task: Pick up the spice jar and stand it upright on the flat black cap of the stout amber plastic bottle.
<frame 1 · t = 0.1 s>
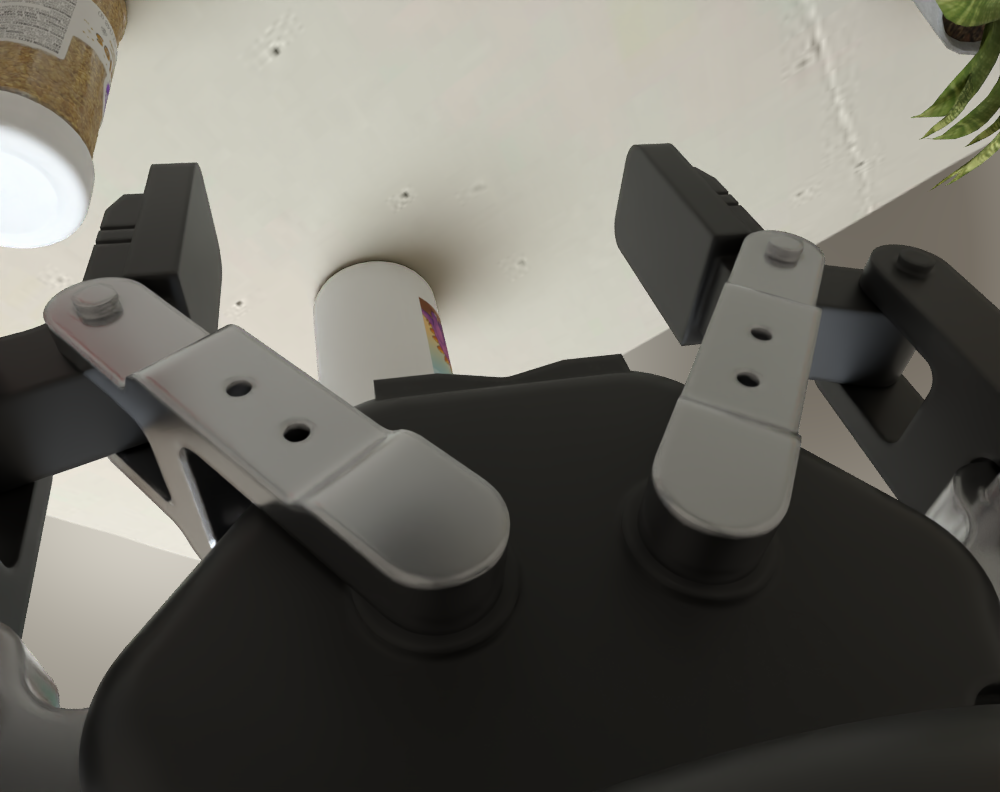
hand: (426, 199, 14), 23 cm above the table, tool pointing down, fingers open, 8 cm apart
milk bottle: (374, 301, 46), on the table
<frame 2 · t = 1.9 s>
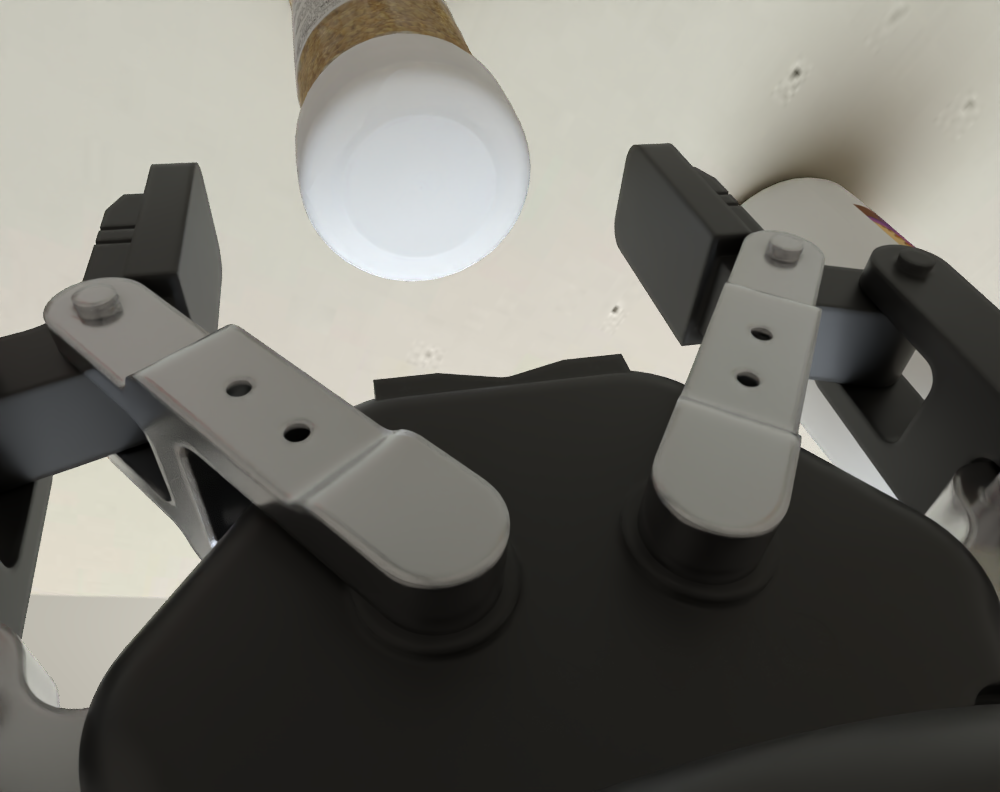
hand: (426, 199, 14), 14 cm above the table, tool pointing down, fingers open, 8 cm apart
milk bottle: (772, 244, 35), on the table
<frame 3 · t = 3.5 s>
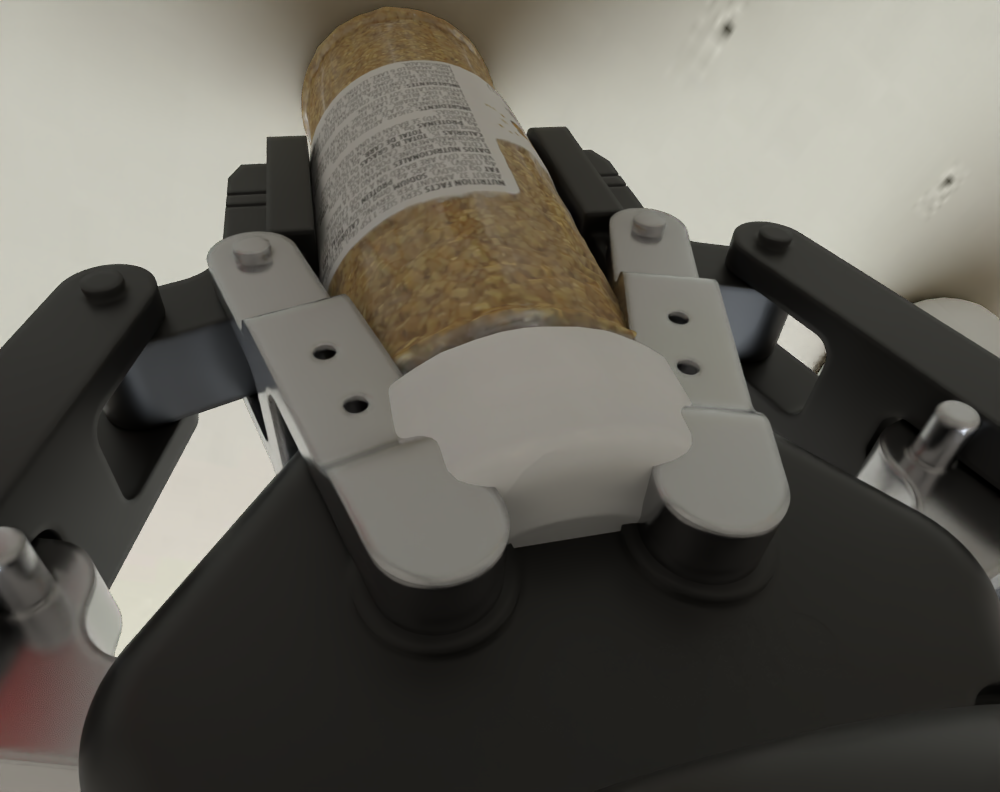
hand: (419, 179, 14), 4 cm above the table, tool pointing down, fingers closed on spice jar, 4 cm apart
milk bottle: (887, 368, 28), on the table
spice jar: (395, 101, 17), on the table, touching gripper
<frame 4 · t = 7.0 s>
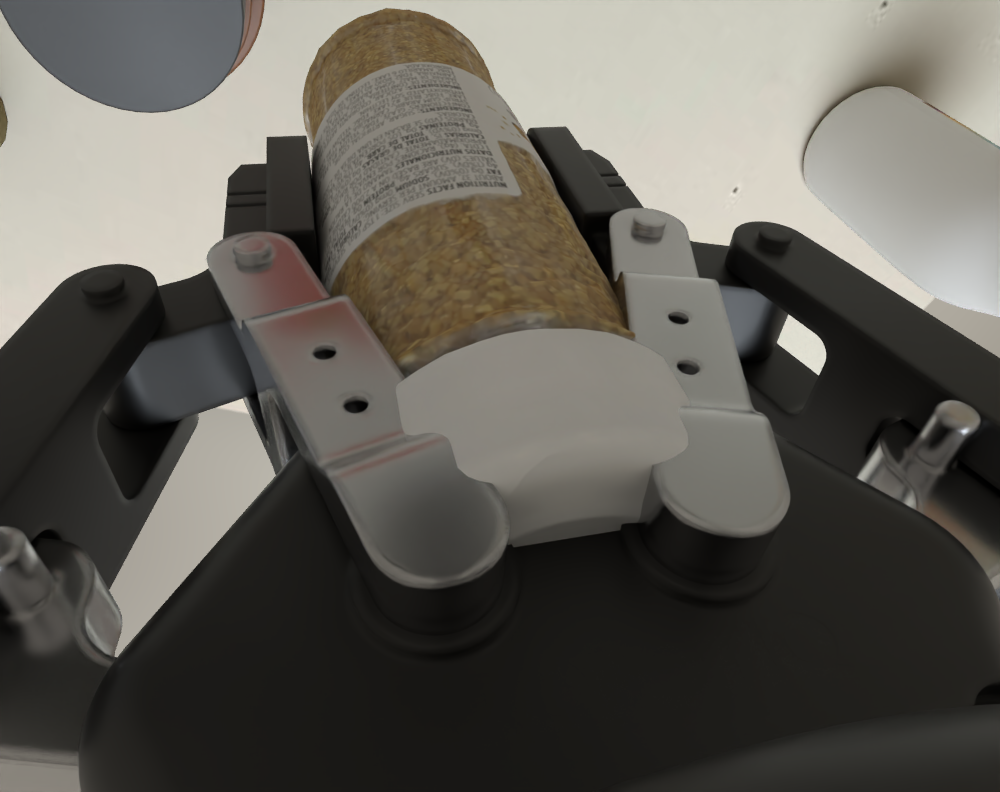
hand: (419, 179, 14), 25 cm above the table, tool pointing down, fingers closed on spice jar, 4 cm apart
milk bottle: (853, 142, 47), on the table
spice jar: (397, 102, 17), point 21 cm above the table, touching gripper
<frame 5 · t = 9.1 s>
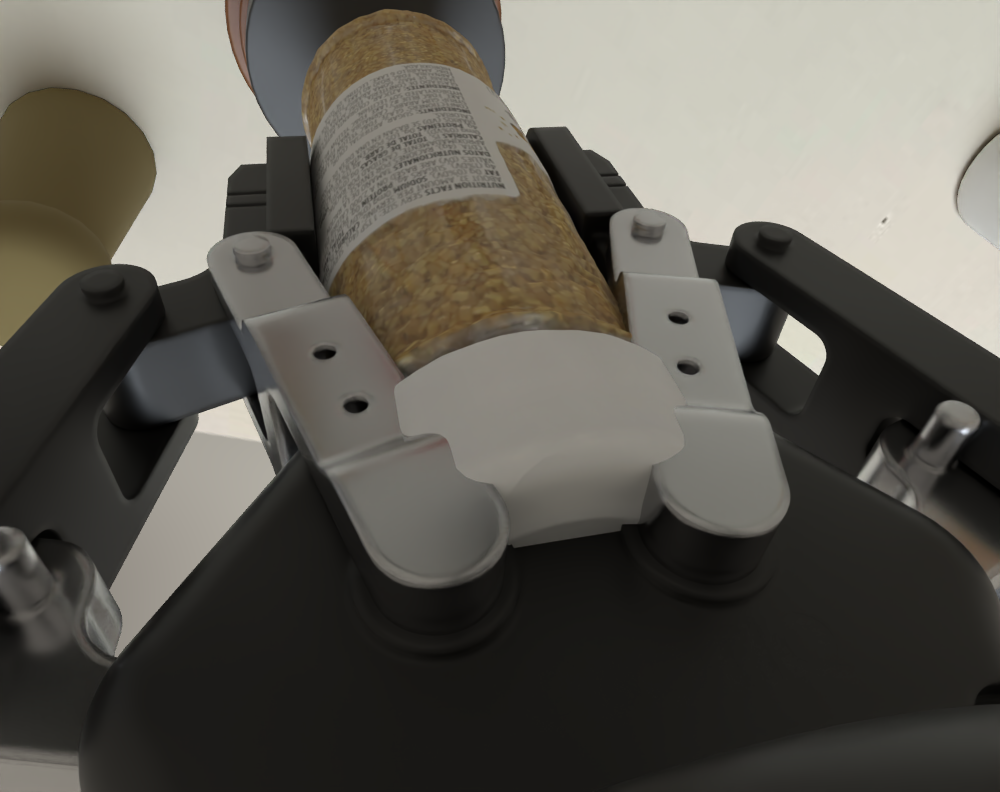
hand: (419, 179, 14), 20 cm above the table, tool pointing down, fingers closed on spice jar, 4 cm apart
cork: (80, 156, 31), on the table
spice jar: (395, 103, 17), point 16 cm above the table, touching gripper
when the fingers open (17 cm above the table, at t = 10.3 s): spice jar stays where it is, resting on amber bottle.
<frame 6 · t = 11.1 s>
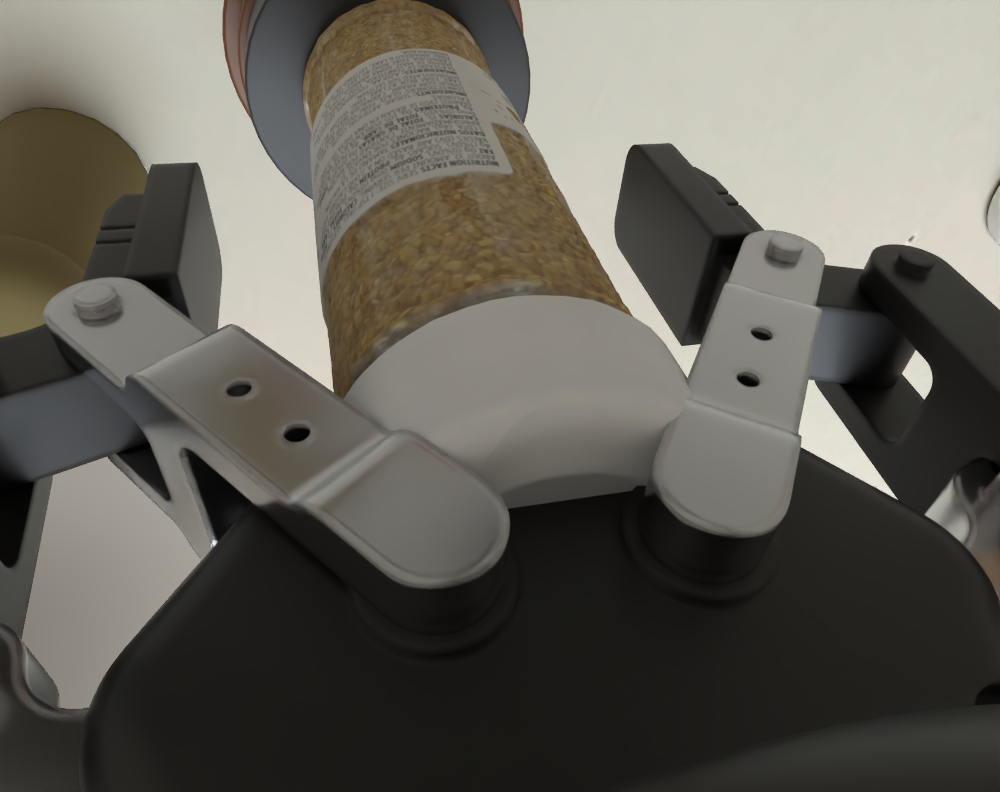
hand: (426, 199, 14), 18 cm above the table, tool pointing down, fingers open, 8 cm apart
cork: (70, 179, 30), on the table
spice jar: (395, 91, 17), point 13 cm above the table, touching amber bottle
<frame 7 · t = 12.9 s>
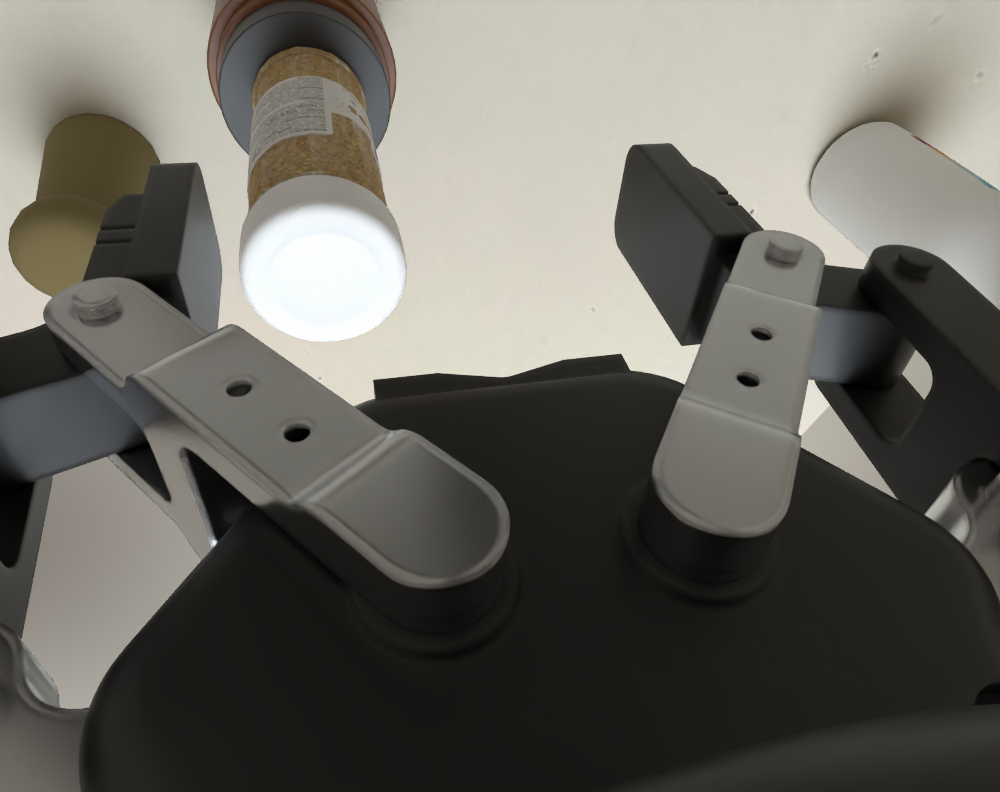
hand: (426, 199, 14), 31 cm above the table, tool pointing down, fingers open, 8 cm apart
cork: (105, 164, 42), on the table
milk bottle: (853, 168, 54), on the table
amber bottle: (299, 12, 39), on the table, touching spice jar
spice jar: (308, 99, 30), point 13 cm above the table, touching amber bottle
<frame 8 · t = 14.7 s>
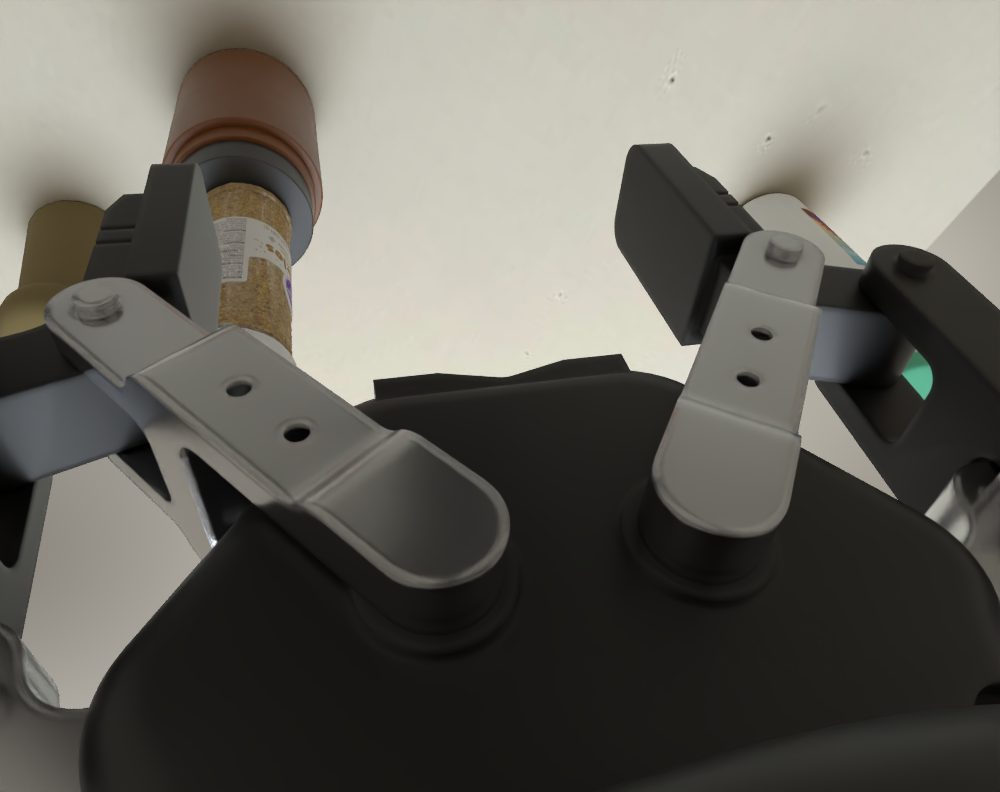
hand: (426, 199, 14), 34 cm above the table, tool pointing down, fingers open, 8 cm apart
cork: (81, 240, 48), on the table
milk bottle: (758, 231, 60), on the table
amber bottle: (248, 116, 45), on the table, touching spice jar
spice jar: (243, 218, 36), point 13 cm above the table, touching amber bottle
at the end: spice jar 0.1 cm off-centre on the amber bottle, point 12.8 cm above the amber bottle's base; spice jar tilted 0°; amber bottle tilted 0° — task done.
